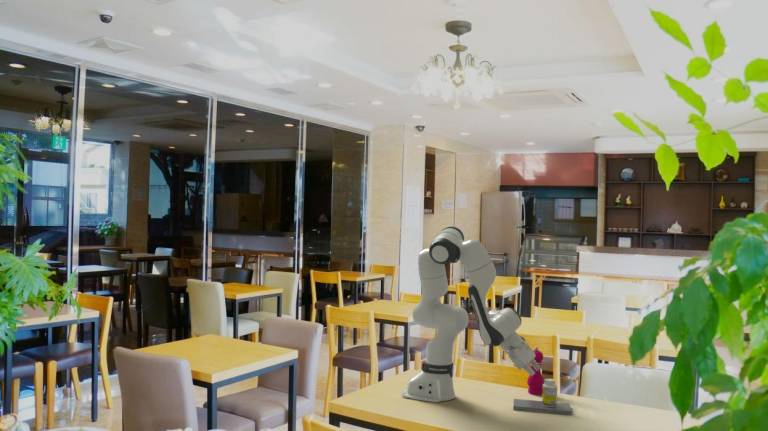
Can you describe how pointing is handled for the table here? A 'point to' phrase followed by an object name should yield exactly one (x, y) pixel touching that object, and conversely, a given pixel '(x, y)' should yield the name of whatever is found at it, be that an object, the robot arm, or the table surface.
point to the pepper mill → (536, 376)
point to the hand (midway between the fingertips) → (536, 372)
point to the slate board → (541, 407)
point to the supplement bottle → (549, 393)
